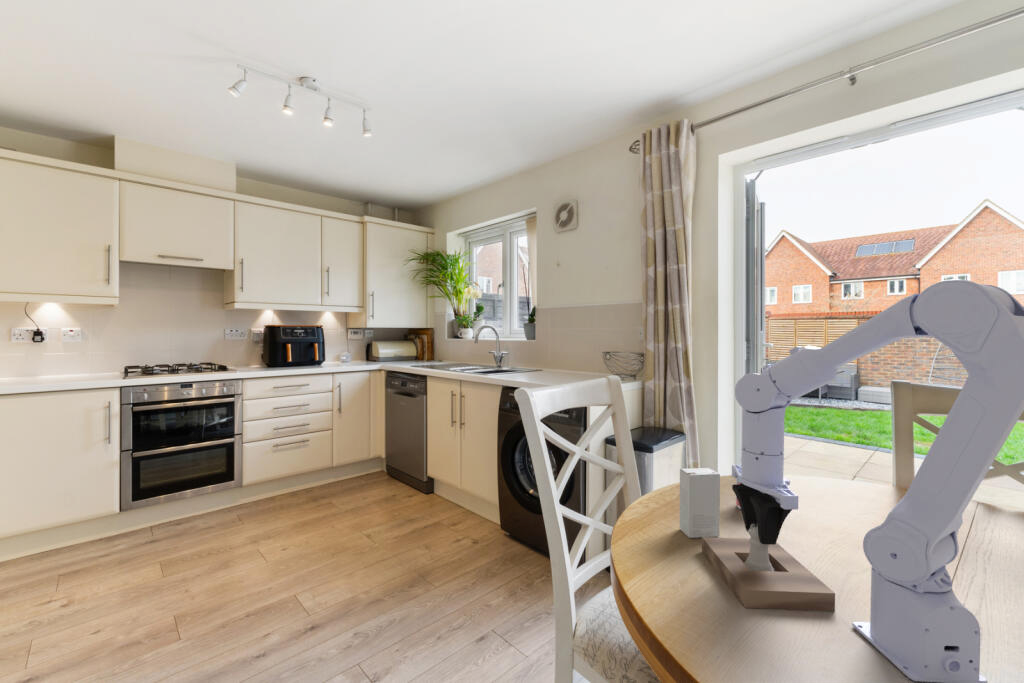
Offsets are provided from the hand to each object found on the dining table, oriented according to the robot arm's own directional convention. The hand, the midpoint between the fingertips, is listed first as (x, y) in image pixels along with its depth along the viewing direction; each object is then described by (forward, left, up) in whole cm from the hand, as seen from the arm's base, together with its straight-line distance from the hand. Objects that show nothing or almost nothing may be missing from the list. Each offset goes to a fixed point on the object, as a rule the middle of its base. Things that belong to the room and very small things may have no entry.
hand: (760, 537), depth 69 cm
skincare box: (+15, +4, -7) cm, 17 cm away
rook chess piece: (0, 0, -7) cm, 7 cm away
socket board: (0, 0, -6) cm, 6 cm away
